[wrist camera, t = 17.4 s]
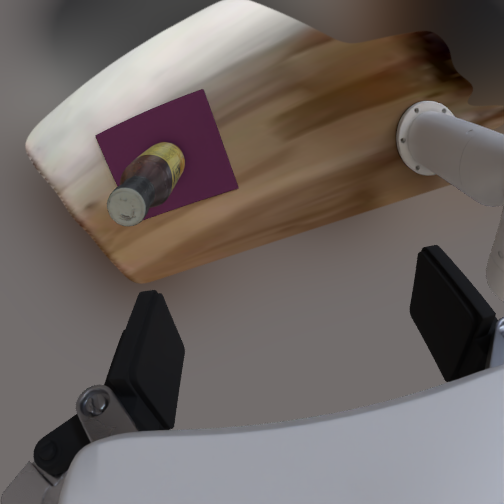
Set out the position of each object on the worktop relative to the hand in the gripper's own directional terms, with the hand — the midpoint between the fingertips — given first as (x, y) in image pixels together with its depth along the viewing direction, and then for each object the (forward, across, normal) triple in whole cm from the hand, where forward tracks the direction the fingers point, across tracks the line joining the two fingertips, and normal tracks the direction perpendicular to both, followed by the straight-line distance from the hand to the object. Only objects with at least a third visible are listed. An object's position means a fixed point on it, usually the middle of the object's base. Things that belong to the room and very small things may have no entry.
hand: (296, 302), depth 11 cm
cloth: (+38, +14, +2) cm, 41 cm away
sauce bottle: (+38, +14, +2) cm, 41 cm away
